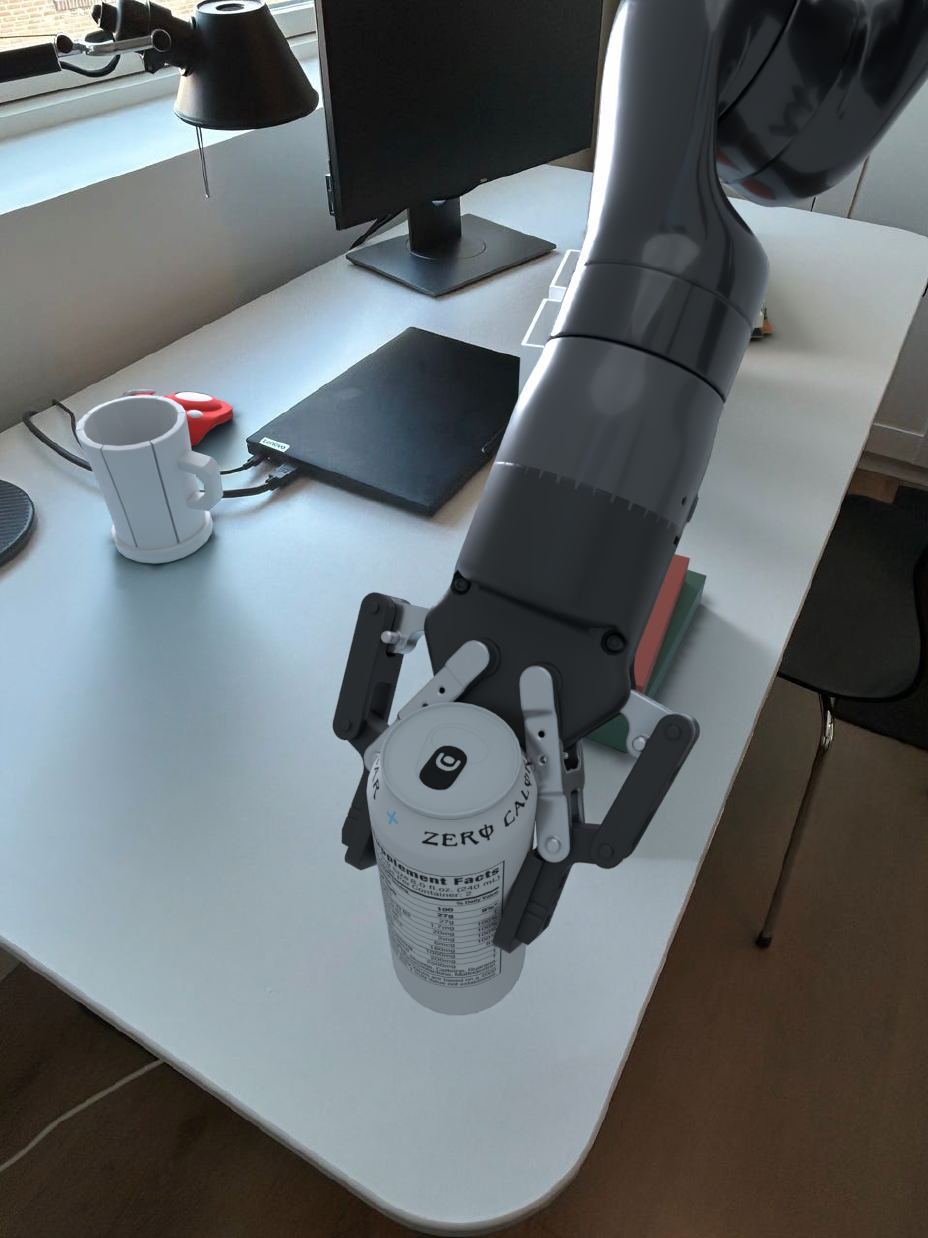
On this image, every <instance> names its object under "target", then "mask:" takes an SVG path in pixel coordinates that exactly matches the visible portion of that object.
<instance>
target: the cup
mask: <svg viewBox="0 0 928 1238" xmlns="http://www.w3.org/2000/svg"><path fill="white" fill-rule="evenodd" d="M75 435H76V437H77V440H78V442H79V444H80V446H81V449H82V451H83V453H84V455H85V457H86V460H87V463H88V464H89V466H90V468H91V471H92V473H93V475H94V478H95V480H96V483H97V485H98V488H99V489H100V491H101V494H102V496H103V499H104V502H105V504H106V507H107V510H108V513H109V515H110V518H111V521H112V525H111V531H110V533H111V537H112V539H113V543H114V545H115V547H116V550H117V551H118V552H119V553H120V554H121V555H122V556H124V557H125V558H126V559H129V560H132V561H135V562H138V563H143V564H144V563H146V564H164V563H171V562H174V561H177V560H180V559H181V560H182V559H184V558H186V557H188V556H189V555H192V554H193V553H195V552H197V550H199V549H200V548H201V547H202V546H203V545H205V544H206V543H207V542H208V540H209V538H210V536H211V535H212V534H213V524H214V522H213V518H212V514H211V512H210V511H211V509H212V508H214V507H215V506H216V505H217V504H218V503H219V502H220V501H221V500H222V498H223V496H224V488H223V482H222V476H221V475H222V474H221V469H220V464H218V462H217V461H216V460H215V459H214V458H213V457H212V456H209V455H206V454H203V453H200V452H196V451H194V450H192V446H191V443H190V436H189V430H188V423H187V417H186V412H185V410H184V409H183V407H182V406H181V405H180V404H178V403H177V402H175V401H173V400H172V399H168V398H165V397H161V395H160V396H159V395H153V396H152V395H138V396H127V397H123V398H119V399H116V398H115V399H112V400H108V401H106V402H104V403H101V404H98V405H96V406H95V407H94V408H92V409H90V410H88V411H87V412H86V413H84V415H83V416H82V417H81V418H80V419H79V421H78V422H77V423H76V428H75ZM198 480H200V482H201V483H202V486H203V489H204V490H203V491H201V490H200V486H199V485H200V484H199V481H198Z"/></svg>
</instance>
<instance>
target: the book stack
mask: <svg viewBox="0 0 928 1238" xmlns="http://www.w3.org/2000/svg"><path fill="white" fill-rule="evenodd" d="M690 561H691V558H690V557H688V556H684V555H680V554H676V553H675V554H674V557H673V559H672V562H671V564H670V567H669V570H668V572H667V575H666V577H665V580H664V582H663V585H662V588H661V590H660V593H659V595H658V598H657V601H656V603H655V606H654V608H653V611H652V613H651V616H650V619H649V621H648V624H647V626H646V629H645V632H644V634H643V637H642V639H641V642H640V645H639V647H638V650H637V653H636V657H635V664H634V673H635V680H636V690H637V691H639V692H640V693H642V694H644V695H646V696H647V697H649V698H651V699H653V700H654V698H655V696H656V694H657V692H658V690H659V688H660V686H661V684H662V682H663V680H664V678H665V675H666V673H667V672H668V669H669V668H670V665H671V663H672V662H673V660H674V658H675V655H676V653H677V651H678V649H679V647H680V645H681V643H682V640H683V639H684V637H685V634H686V632H687V630H688V628H689V626H690V624H691V623H692V620H693V618H694V616H695V614H696V612H697V610H698V608H699V606H700V603H701V601H702V596H703V592H704V588H705V585H706V580H707V576H708V575H706V574H703V573H700V572H697V571H694V570H690V569H689V564H690ZM628 733H629V723H628V721H627V719H626V717H625V716H624V715H623V714H620V715H619V716H617V717H615V718H614V719H612V720H611V721H609V722H608V723H606V724H604V725H603V726H601V727H600V728H598V729H596V730H595V731H593V732H592V733H590V734H588V735H587V736H585V737H584V738H587V739H589V740H592V741H595V742H597V743H600V744H602V745H605V746H607V747H611V748H612V749H616V750H618V751H621V752H623V753H626V754H627V753H629V752H628V750H627V747H626V738H627V736H628Z"/></svg>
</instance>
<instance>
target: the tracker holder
mask: <svg viewBox="0 0 928 1238" xmlns="http://www.w3.org/2000/svg"><path fill="white" fill-rule="evenodd" d="M156 392H157V391H156V390H155V389H131V390H129V391H126V392H123V394H122V395H120V396H118V397H116V398H115V399H119V398H123V397H127V396H138V395H152V396H154V394H156ZM160 396H161V395H160ZM161 397H165V398H168V399H172V400H173V401H175V402H177V403H178V404H180V405H181V406H182V407H183V409H184V410H185V412H186V417H187V423H188V430H189V436H190V443H191V447H196V446H197V445H198V444H199V443H200V442H201V441H202V440H203V439H204V438H205V436H206V434H208V432H210V431H211V430H212V429H213V428H215V427H216V426H218V425H220V424H221V425H222V424H224V423H226V422H228V421H230V420H232V418H233V417H234V408H233V406H232V405H231V404H230V403H227V402H226V401H223V400H220V399H218V398H216V397H214V396H213V395H209V394H206V393H203V392H198V391H179V392H174V393H170V394H167V395H162V396H161Z"/></svg>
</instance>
